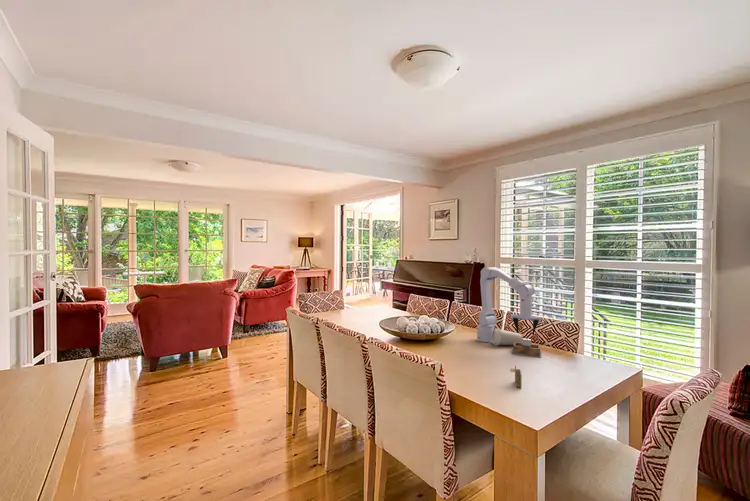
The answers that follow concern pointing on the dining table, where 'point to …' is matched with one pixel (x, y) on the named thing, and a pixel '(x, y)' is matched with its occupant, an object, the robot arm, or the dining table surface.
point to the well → (526, 349)
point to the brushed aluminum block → (526, 342)
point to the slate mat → (527, 354)
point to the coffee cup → (505, 337)
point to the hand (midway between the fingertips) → (525, 333)
